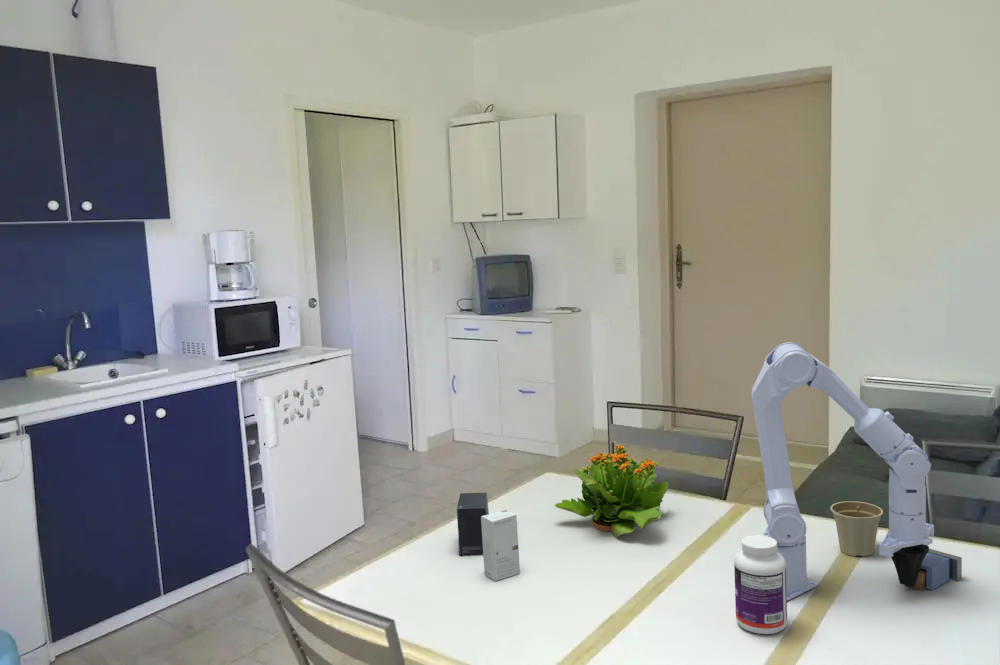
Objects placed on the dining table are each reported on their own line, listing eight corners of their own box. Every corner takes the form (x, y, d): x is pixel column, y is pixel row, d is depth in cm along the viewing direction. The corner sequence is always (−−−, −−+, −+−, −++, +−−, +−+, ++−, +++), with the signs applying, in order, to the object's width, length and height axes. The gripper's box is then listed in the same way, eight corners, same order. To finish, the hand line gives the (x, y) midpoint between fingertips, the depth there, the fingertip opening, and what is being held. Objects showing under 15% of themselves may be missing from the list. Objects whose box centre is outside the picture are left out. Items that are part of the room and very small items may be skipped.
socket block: (932, 590, 137) (932, 568, 137) (898, 579, 142) (898, 558, 142) (949, 579, 141) (949, 558, 140) (915, 569, 146) (915, 548, 145)
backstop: (957, 581, 140) (957, 560, 140) (912, 567, 147) (912, 547, 146) (961, 578, 141) (961, 557, 141) (916, 565, 148) (916, 544, 147)
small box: (489, 554, 166) (486, 507, 165) (458, 556, 166) (455, 508, 165) (491, 536, 177) (487, 490, 175) (462, 537, 177) (458, 492, 176)
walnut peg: (921, 590, 138) (921, 574, 137) (904, 585, 140) (904, 569, 140) (936, 580, 141) (936, 564, 141) (919, 575, 144) (919, 559, 143)
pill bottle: (747, 609, 135) (744, 528, 134) (794, 621, 130) (792, 537, 128) (728, 628, 129) (725, 544, 127) (776, 642, 124) (774, 554, 122)
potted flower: (546, 540, 172) (541, 462, 170) (568, 504, 194) (564, 435, 192) (662, 546, 164) (658, 465, 162) (671, 508, 187) (668, 436, 185)
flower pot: (877, 564, 149) (876, 520, 148) (825, 555, 155) (824, 512, 154) (888, 547, 157) (887, 505, 156) (838, 538, 162) (837, 498, 161)
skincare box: (495, 582, 152) (491, 522, 151) (483, 574, 156) (479, 516, 155) (521, 573, 156) (517, 514, 154) (509, 566, 160) (505, 508, 158)
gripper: (907, 526, 129) (908, 605, 131) (951, 505, 137) (951, 579, 139) (867, 515, 135) (868, 591, 137) (911, 495, 143) (911, 567, 145)
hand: (907, 584), depth 138 cm, fingers closed
